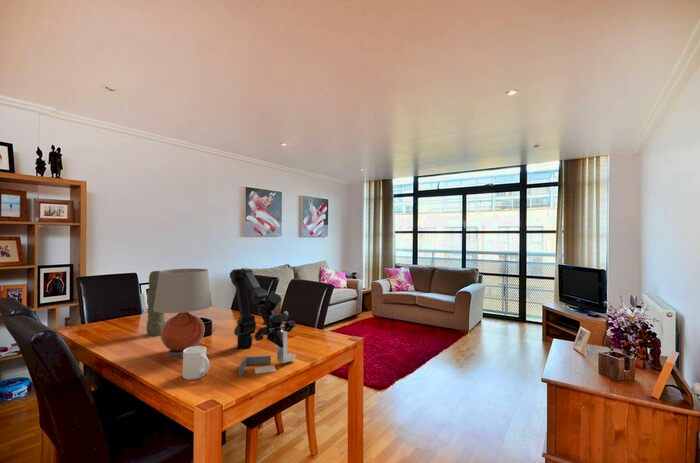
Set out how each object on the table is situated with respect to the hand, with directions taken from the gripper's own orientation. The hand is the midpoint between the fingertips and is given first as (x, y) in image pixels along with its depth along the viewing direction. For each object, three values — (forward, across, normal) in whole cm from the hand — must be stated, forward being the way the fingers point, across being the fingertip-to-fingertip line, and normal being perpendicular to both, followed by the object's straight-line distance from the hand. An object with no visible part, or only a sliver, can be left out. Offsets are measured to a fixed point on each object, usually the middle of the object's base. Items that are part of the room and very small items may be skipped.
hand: (284, 346), depth 141 cm
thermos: (-56, -19, +68) cm, 90 cm away
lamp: (-28, -22, +39) cm, 53 cm away
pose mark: (+4, -8, +7) cm, 12 cm away
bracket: (+4, +2, +6) cm, 7 cm away
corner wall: (+2, -10, +9) cm, 14 cm away
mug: (-6, -30, +17) cm, 35 cm away
